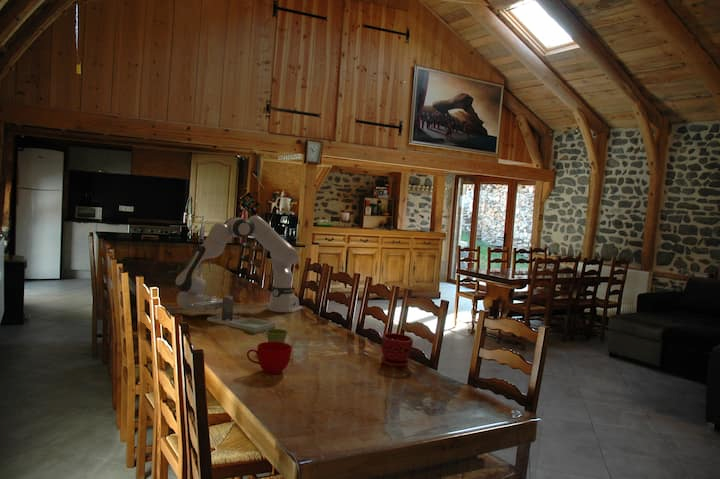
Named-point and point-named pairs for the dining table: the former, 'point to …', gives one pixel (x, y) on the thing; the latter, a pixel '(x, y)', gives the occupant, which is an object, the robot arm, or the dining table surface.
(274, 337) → the plant pot
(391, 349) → the plant pot
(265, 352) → the ceramic cup
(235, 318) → the tray
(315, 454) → the dining table surface
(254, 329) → the bin
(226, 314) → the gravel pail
